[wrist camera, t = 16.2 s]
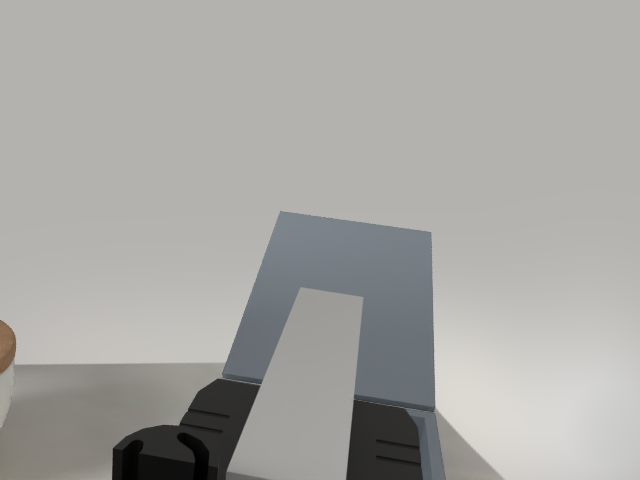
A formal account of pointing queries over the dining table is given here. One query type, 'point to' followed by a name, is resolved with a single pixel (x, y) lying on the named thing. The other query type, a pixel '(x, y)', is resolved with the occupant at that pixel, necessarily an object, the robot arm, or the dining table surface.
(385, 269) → the lid
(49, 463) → the dining table surface
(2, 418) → the lidded bowl
